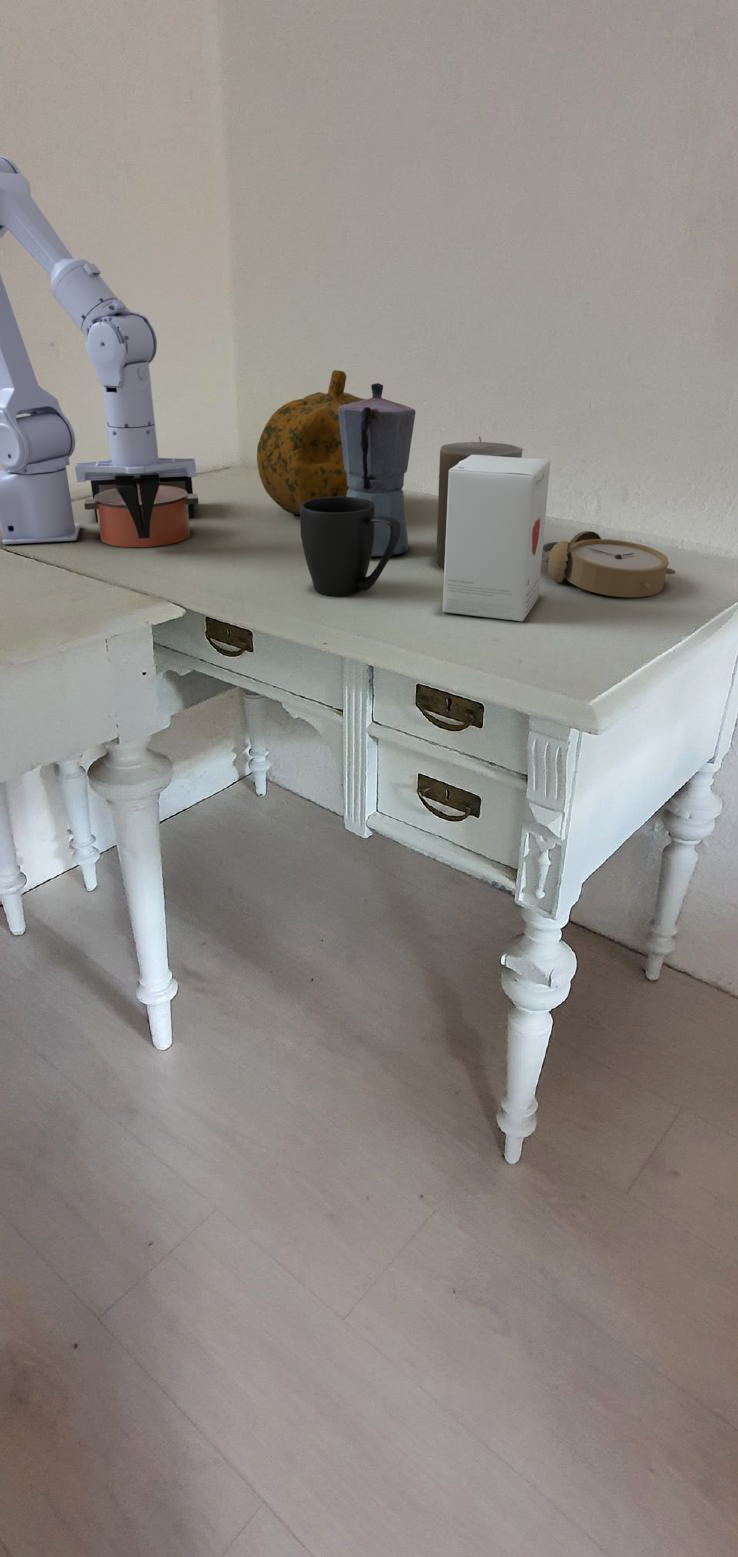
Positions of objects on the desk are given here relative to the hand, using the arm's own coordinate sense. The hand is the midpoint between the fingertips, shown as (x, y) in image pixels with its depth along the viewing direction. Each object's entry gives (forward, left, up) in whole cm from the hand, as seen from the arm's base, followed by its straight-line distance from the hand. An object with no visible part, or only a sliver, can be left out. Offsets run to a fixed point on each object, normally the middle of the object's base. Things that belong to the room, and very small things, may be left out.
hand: (144, 536), depth 124 cm
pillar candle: (+40, -14, -2) cm, 43 cm away
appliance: (0, +22, -2) cm, 22 cm away
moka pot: (+29, -6, -2) cm, 30 cm away
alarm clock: (+52, -24, -2) cm, 57 cm away
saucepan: (0, +8, -2) cm, 8 cm away
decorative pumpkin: (+27, +16, -2) cm, 31 cm away
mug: (+23, -22, -2) cm, 32 cm away
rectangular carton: (+37, -30, -2) cm, 48 cm away
